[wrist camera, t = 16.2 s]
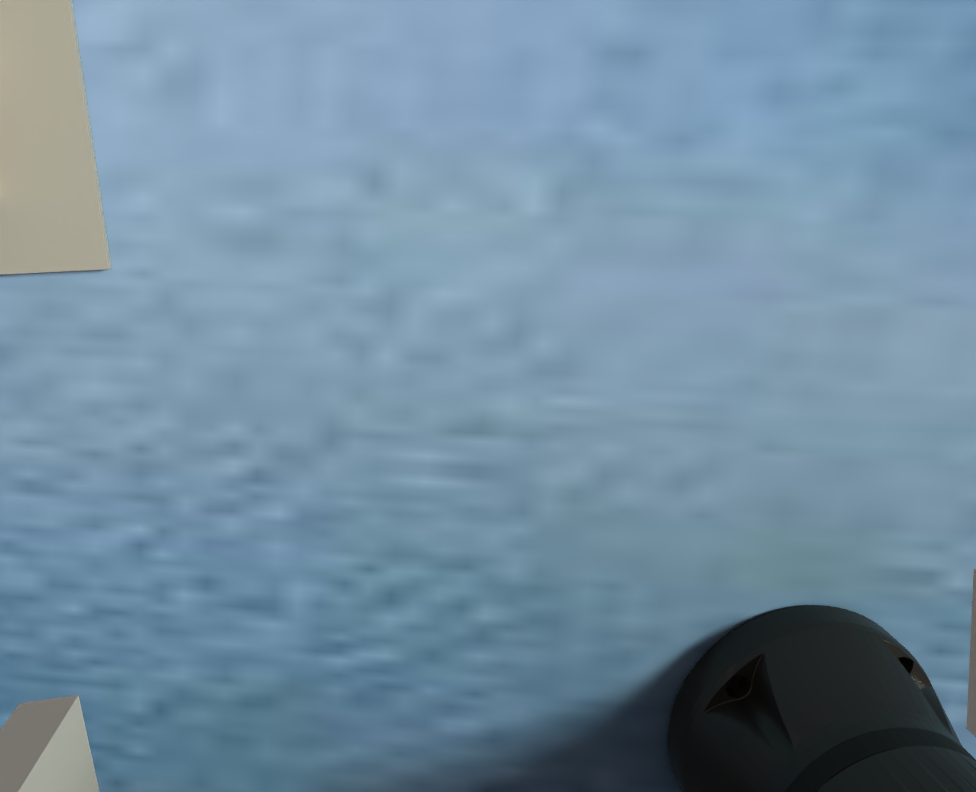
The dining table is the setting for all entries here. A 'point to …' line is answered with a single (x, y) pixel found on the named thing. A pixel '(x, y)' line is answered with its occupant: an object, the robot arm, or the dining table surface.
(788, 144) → the dining table surface
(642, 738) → the dining table surface
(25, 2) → the mat
